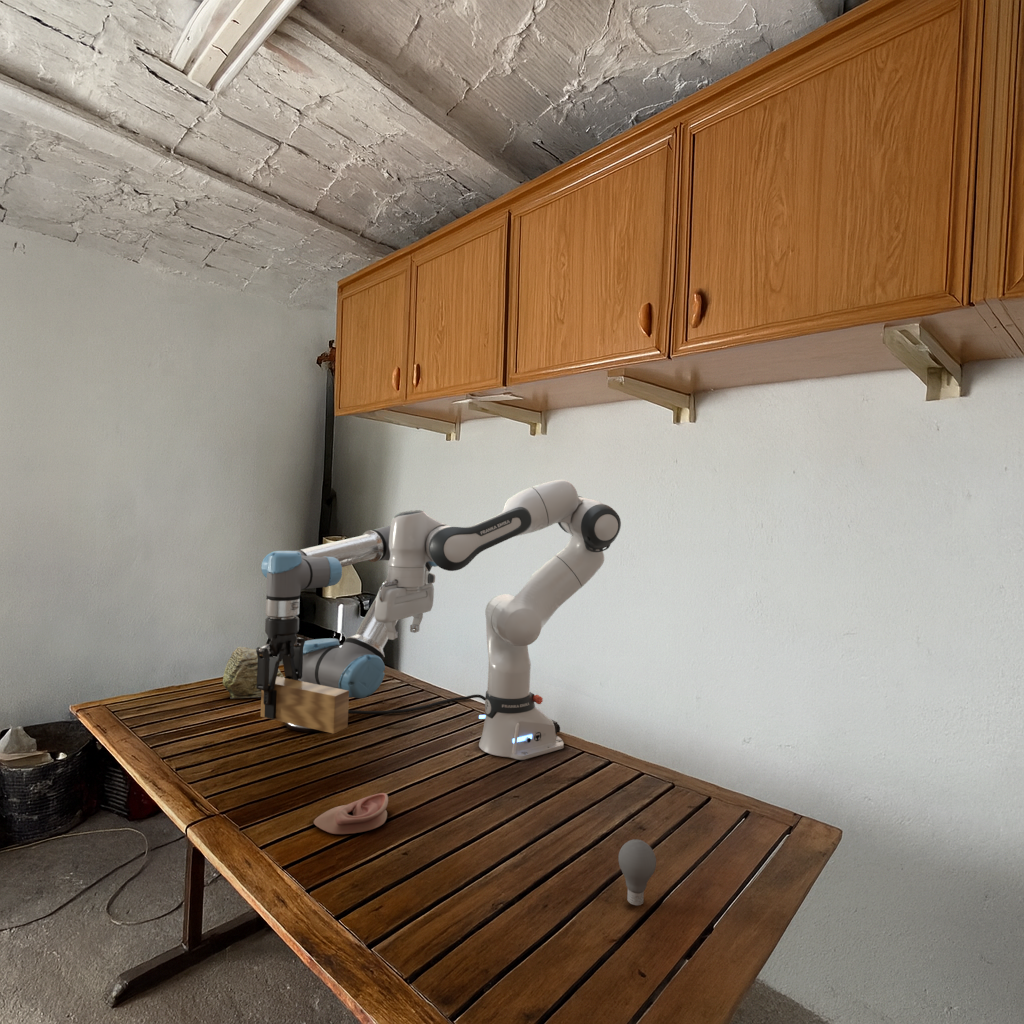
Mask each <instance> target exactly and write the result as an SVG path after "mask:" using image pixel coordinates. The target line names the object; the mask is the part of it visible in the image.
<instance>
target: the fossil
mask: <svg viewBox="0 0 1024 1024" xmlns="http://www.w3.org/2000/svg"><path fill="white" fill-rule="evenodd" d="M256 649H257V648H251V647H247V646H246V647H245V646H238V647H237V648H236V649H235V650H233V651H232V653H231V656H230V657H229V659H228V660H227V663H226V666H225V668H224V671H223V675H222V676H223V677H222V685H223V687H224V688H225V690H226V691H228V693H229V698H230V699H250V698H261V690H260V689H257V664H258V656H257V652H256ZM277 676H278V677H283V678H285V675H284V674H283V673H282V672H281V669H279V668H278V673H277Z"/></svg>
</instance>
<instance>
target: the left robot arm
mask: <svg viewBox="0 0 1024 1024" xmlns="http://www.w3.org/2000/svg"><path fill="white" fill-rule="evenodd" d="M390 527H391V524H390V525H386V526H382V527H379V528H375V529H369V530H366V531H365V532H363V533H362V535H359V536H358V535H357V536H355V537H354V536H353V537H349V538H346V539H345V538H344V539H341V540H337V541H332V542H327V543H324V544H319V545H315V546H310V547H306V548H305V547H304V548H301V549H298V550H297V549H296V550H274V551H271V552H270V553H267V554H266V555H265V556H264V558H263V560H262V562H261V566H260V567H261V573H262V575H263V577H265V578H266V598H265V616H267V617H266V618H265V622H264V624H265V625H264V633H265V634H266V635H267V638H266V641H265V644H264V645H262V646H257V647H256V648H255V649H256V652H257V656H258V664H257V689H260V690H263V691H264V704H265V717H267V718H266V719H269V718H271V719H270V720H273V719H275V718H276V696H277V690H274V687H275V682H276V677H277V673H278V669H279V667H280V663H281V662H282V665H283V671H284V677H285V678H288V679H293V680H298V681H303V682H308V683H313V684H318V685H323V686H328V687H333V688H338V689H343V690H348V691H349V698H355V699H365V698H367V697H370V696H372V695H373V694H374V693H375V692H376V691H377V690H378V689H379V688H380V686H381V685H382V683H383V681H384V678H385V672H384V671H385V670H386V666H385V663H384V659H385V657H386V656H385V652H384V648H385V646H386V644H387V642H388V640H389V639H388V631H387V629H386V626H385V623H383V622H377V621H376V619H375V605H376V598H377V595H376V596H375V598H374V600H373V602H372V604H371V605H370V607H369V608H368V611H367V612H366V614H365V616H364V618H363V619H362V621H361V623H360V625H359V626H358V628H357V630H356V632H355V633H354V635H350V636H347V637H346V638H345V640H344V642H343V643H342V645H341V643H340V641H339V639H338V638H335V637H334V638H331V637H329V638H315V639H308V640H306V639H305V638H303V637H298V636H297V634H298V633H299V630H300V618H299V615H300V602H301V601H300V599H301V591H302V590H307V589H318V588H329V587H333V586H336V585H337V584H339V582H340V581H341V579H342V576H343V568H344V567H348V566H351V565H355V564H359V563H363V562H367V561H369V562H371V563H376V562H379V561H380V562H381V561H388V562H389V559H390V550H389V535H390ZM433 567H434V568H436V567H438V566H437V565H436V564H435V563H434V562H431V561H428V562H426V564H425V570H426V571H428V572H430V571H431V570H432V568H433ZM430 573H431V572H430ZM387 580H388V576H386V578H385V580H384V582H386V581H387ZM383 587H384V586H383ZM398 621H399V620H397V621H396V624H397V623H398ZM340 646H341V647H340ZM485 697H486V696H484V695H483V694H471V695H467V696H459V697H452V698H448V699H444V700H438V701H435V702H432V703H428V704H425V705H424V704H423V705H420V706H415V707H410V708H401V709H393V710H391V709H390V710H360V709H359V710H353V709H348V715H393V714H394V715H395V714H403V713H404V714H405V713H410V712H415V711H421V710H426V709H430V708H433V707H435V706H438V705H443V704H448V703H453V702H458V701H465V700H471V699H476V698H479V699H481V700H483V701H485ZM285 726H286V728H287V729H289V730H291V731H294V732H295V731H296V732H301V733H316V732H321V731H320V730H315V729H311V728H307V727H303V726H298V725H294V724H290V723H286V722H285Z"/></svg>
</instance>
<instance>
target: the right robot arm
mask: <svg viewBox="0 0 1024 1024" xmlns="http://www.w3.org/2000/svg"><path fill="white" fill-rule="evenodd" d="M555 524H557V525H558V526H559V527H560V529H561V530H563V531H564V532H565V533H567V534H568V535H570V538H569V541H568V542H567V544H566V545H565V546H564V548H562V549H561V550H560V551H559V552H558V553H556V554H555V555H554V556H552V557H551V558H550V559H549V560H547V561H546V562H545V563H544V564H542V565H541V566H540V567H539V568H538V569H537V570H535V571H534V572H533V573H532V574H531V576H530V577H529V579H528V581H527V582H526V584H525V585H524V586H523V587H522V588H521V589H520V590H519V592H518V593H517V594H515V595H513V594H511V593H509V594H508V593H503V594H497V595H495V596H493V597H492V598H491V599H490V600H489V601H488V603H487V604H486V607H485V627H486V629H485V630H486V646H487V659H488V661H487V662H488V663H487V664H488V666H487V667H488V668H487V669H488V670H487V689H486V691H485V696H484V697H485V700H484V714H479V715H478V719H480V720H482V719H484V722H483V728H482V733H481V736H480V739H479V743H478V747H479V749H480V750H481V751H482V752H485V753H486V754H488V755H491V756H492V755H493V756H496V757H503V758H510V759H514V760H518V761H525V760H528V759H532V758H535V757H538V756H542V755H546V754H549V753H552V752H556V751H559V750H563V749H564V748H565V742H564V740H563V739H562V738H561V737H560V736H558V734H559V733H560V732H561V727H560V725H559V723H558V721H555V719H551V718H550V717H549V716H548V715H547V714H546V713H544V712H543V711H542V710H540V708H538V707H537V706H536V704H537V705H541V704H542V703H543V701H544V699H543V697H542V696H541V695H539V694H534V693H533V692H531V690H530V689H531V671H532V670H531V669H532V668H531V667H532V663H531V658H530V654H529V648H528V647H529V645H532V644H533V643H534V642H536V640H537V639H538V638H539V637H540V635H541V631H542V629H543V628H544V626H545V625H546V624H547V623H548V622H549V620H550V619H551V617H552V616H553V615H554V614H555V613H556V611H557V610H558V609H559V608H560V607H562V605H563V604H564V603H566V602H567V601H568V600H569V599H570V598H572V597H573V596H574V595H575V594H576V593H577V592H578V591H579V590H581V589H582V588H583V587H584V586H585V585H586V584H587V583H588V582H589V581H590V580H592V579H593V577H594V576H595V575H596V573H598V572H599V570H600V569H601V568H602V566H603V565H604V563H605V554H604V551H607V550H608V549H609V548H610V547H611V545H612V543H614V541H615V540H616V539H617V537H618V535H619V533H620V531H621V527H622V521H621V517H620V515H619V514H618V512H617V511H616V510H615V509H613V508H612V507H611V506H610V505H607V504H605V503H602V502H601V501H598V500H596V499H593V498H587V497H583V496H580V495H579V494H578V491H577V489H576V487H575V486H574V485H573V484H572V483H571V482H570V481H568V480H566V479H555V480H551V481H546V482H543V483H542V482H541V483H539V484H536V485H533V486H530V487H528V488H525V489H523V490H520V491H519V492H517V493H515V494H514V495H512V496H510V497H509V498H508V499H507V500H506V502H505V503H504V507H503V509H502V511H501V512H500V513H498V514H496V515H495V516H492V517H489V518H487V519H485V520H483V521H481V522H477V523H476V524H473V525H471V526H463V527H462V526H451V525H448V524H445V523H443V522H440V521H439V520H436V519H435V518H433V517H431V516H430V515H428V514H427V513H426V512H425V511H424V510H420V509H419V510H418V509H415V510H407V511H402V512H398V513H397V514H395V515H394V516H393V517H392V519H391V522H390V525H391V527H390V535H389V550H390V559H389V561H388V563H387V577H388V580H387V581H386V582H385V581H384V582H383V583H382V584H381V586H380V587H379V589H378V592H377V594H376V596H377V598H376V597H375V598H376V605H375V619H376V621H377V622H383V623H385V626H386V629H387V631H388V640H391V641H394V640H397V639H398V638H399V637H398V635H399V631H397V630H396V625H397V623H396V621H397V620H398V621H400V620H403V619H406V618H410V617H412V623H411V624H410V626H409V632H410V633H414V634H415V633H418V632H420V626H421V622H422V620H423V619H424V614H425V613H428V612H431V611H432V609H433V606H434V595H435V587H434V583H435V582H436V575H435V574H434V573H432V572H428V571H426V570H425V564H426V562H428V561H431V562H434V563H435V564H436V565H437V567H438V568H439V569H442V570H444V571H449V572H456V571H460V570H462V569H464V568H466V567H467V566H468V565H469V564H470V563H471V562H472V561H473V560H474V559H475V558H476V557H477V556H478V555H479V554H480V553H482V552H483V551H485V550H488V549H490V548H492V547H495V546H497V545H498V544H501V543H504V542H505V541H507V540H510V539H512V538H515V537H519V536H523V535H528V534H532V533H535V532H537V531H541V530H543V529H546V528H549V527H550V526H551V527H552V526H553V525H555ZM383 586H384V587H383ZM398 621H397V622H398Z"/></svg>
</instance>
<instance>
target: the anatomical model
mask: <svg viewBox="0 0 1024 1024" xmlns="http://www.w3.org/2000/svg"><path fill="white" fill-rule="evenodd" d="M388 805H389V795H388V793H386V792H379V793H375V794H371V795H369V796H366V797H363V798H360V799H358V800H355V801H352V802H350V803H347V804H344V805H343V804H342V805H339V806H335V807H333V808H330V809H328V810H326V811H325V812H322V813H321V814H320V815H318V816H317V817H316V818H315V819H314V820H313V824H314V825H315V826H316V827H317V828H319V829H320V830H322V831H324V832H327V833H328V834H333V835H349V834H357V833H363V832H368V831H372V830H375V829H377V828H379V827H381V826H382V825H384V824H385V823H386V821H387V818H388V812H387V811H388V810H386V809H387V808H388Z"/></svg>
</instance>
